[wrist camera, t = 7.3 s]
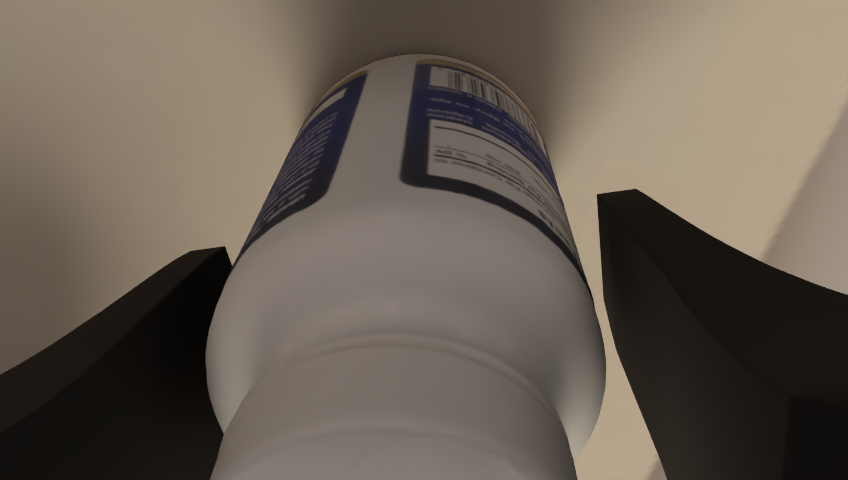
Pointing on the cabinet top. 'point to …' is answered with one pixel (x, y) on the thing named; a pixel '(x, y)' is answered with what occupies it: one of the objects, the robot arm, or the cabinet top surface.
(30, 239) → the cabinet top surface
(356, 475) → the pill bottle
